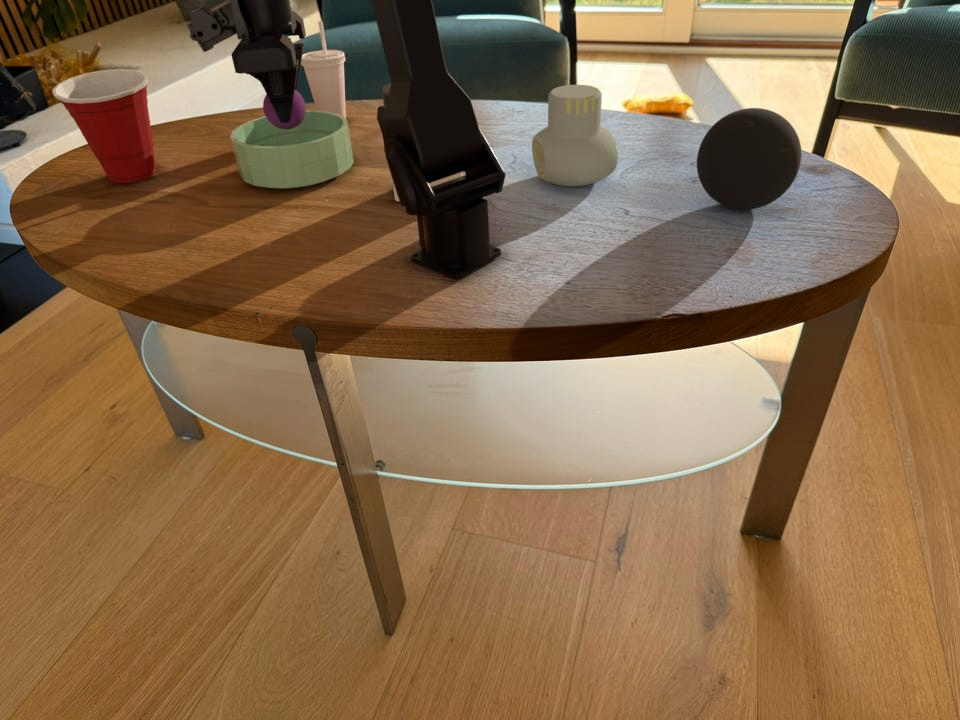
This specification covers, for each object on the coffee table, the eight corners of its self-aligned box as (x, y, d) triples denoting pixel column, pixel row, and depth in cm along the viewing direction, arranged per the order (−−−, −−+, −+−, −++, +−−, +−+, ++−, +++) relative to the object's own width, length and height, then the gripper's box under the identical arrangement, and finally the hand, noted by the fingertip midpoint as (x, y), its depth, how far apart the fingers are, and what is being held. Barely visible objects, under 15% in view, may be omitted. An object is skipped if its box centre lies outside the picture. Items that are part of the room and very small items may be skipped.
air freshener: (620, 192, 80) (627, 101, 74) (549, 200, 79) (549, 109, 73) (593, 158, 89) (597, 75, 83) (529, 165, 88) (528, 82, 82)
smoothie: (346, 130, 103) (329, 26, 95) (305, 129, 104) (285, 26, 96) (360, 116, 108) (346, 16, 100) (321, 116, 109) (303, 17, 101)
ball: (317, 126, 87) (309, 84, 84) (283, 137, 84) (274, 94, 82) (293, 119, 90) (285, 78, 87) (260, 130, 87) (250, 88, 84)
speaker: (702, 182, 81) (714, 92, 75) (795, 194, 77) (816, 100, 71) (681, 217, 74) (693, 120, 68) (783, 232, 70) (805, 130, 64)
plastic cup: (83, 198, 87) (43, 97, 80) (92, 169, 95) (56, 75, 88) (176, 183, 89) (145, 84, 82) (177, 156, 98) (148, 64, 91)
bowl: (376, 165, 91) (370, 122, 88) (284, 202, 83) (274, 156, 79) (310, 144, 99) (302, 104, 96) (220, 176, 91) (208, 133, 87)
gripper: (198, -34, 84) (232, 100, 93) (161, -10, 69) (206, 147, 78) (292, -41, 85) (317, 93, 94) (276, -19, 70) (307, 138, 79)
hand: (287, 116), depth 87 cm, fingers closed on ball, 5 cm apart
